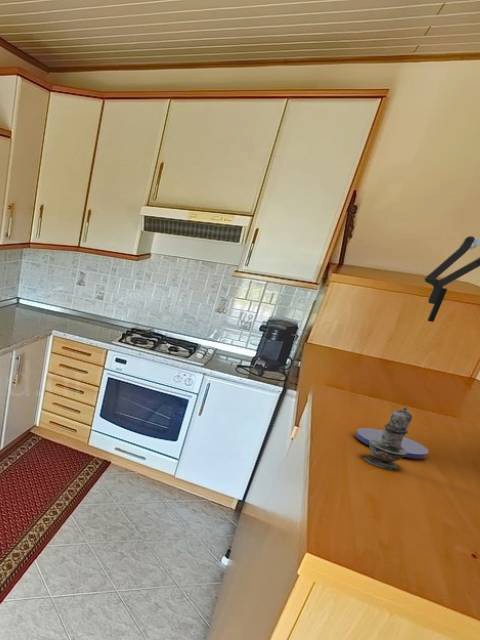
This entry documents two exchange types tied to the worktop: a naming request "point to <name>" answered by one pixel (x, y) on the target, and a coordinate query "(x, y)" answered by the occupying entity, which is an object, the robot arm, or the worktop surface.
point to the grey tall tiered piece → (390, 441)
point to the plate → (409, 445)
